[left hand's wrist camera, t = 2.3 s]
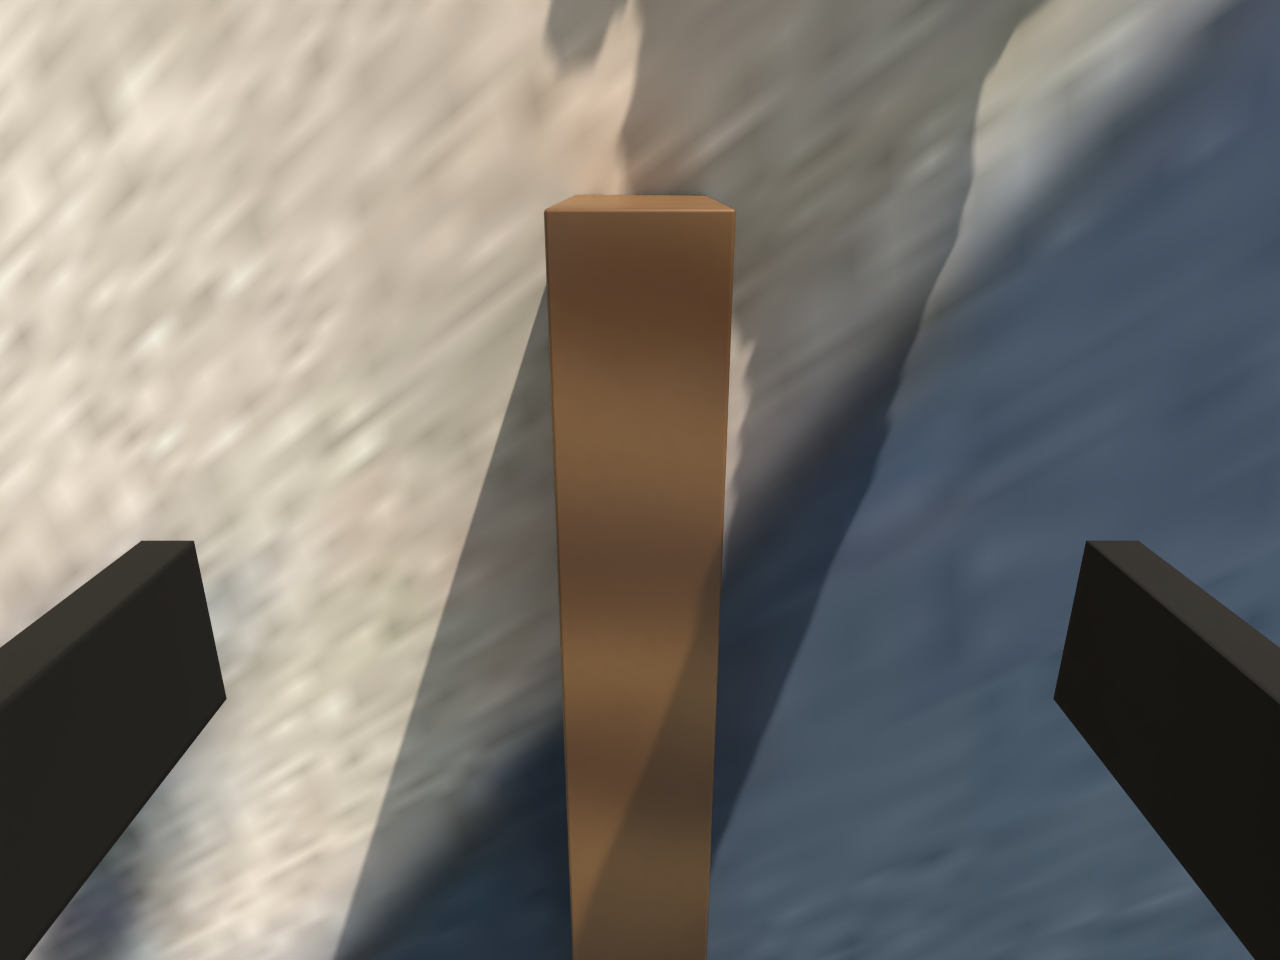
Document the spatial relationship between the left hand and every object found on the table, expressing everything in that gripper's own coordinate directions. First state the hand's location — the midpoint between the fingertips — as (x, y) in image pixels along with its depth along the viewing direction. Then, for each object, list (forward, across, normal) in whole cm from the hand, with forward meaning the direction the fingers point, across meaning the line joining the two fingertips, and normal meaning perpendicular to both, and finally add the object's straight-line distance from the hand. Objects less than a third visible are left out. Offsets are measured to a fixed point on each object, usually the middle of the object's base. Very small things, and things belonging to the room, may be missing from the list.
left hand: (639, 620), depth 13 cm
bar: (+16, 0, -30) cm, 34 cm away
